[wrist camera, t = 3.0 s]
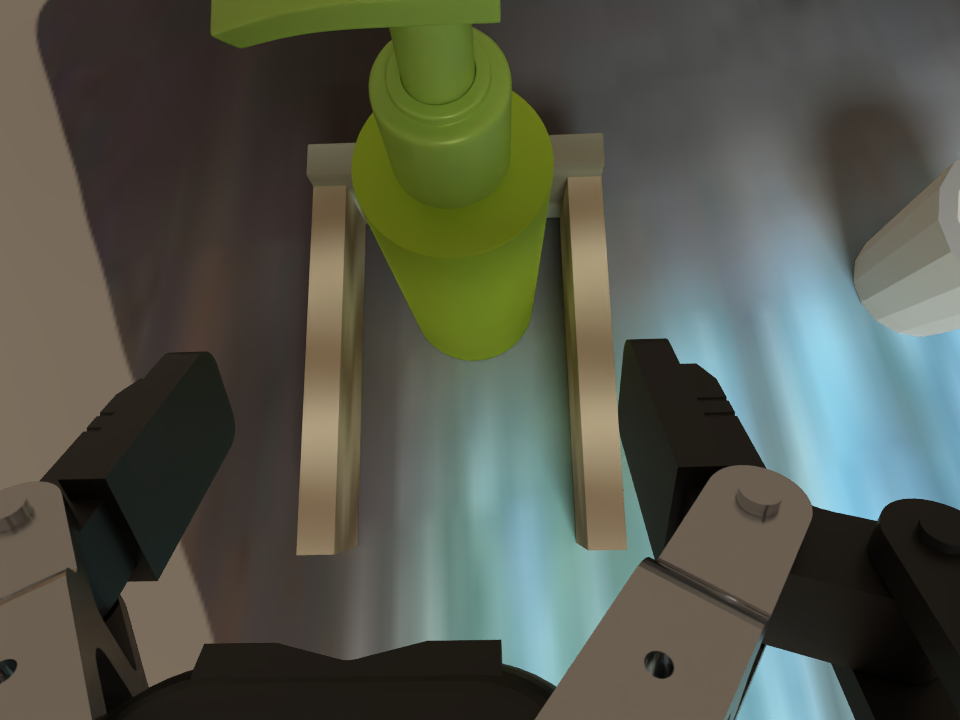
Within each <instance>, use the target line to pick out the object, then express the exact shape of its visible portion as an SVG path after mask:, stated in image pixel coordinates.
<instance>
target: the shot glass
mask: <svg viewBox="0 0 960 720" xmlns="http://www.w3.org/2000/svg"><path fill="white" fill-rule="evenodd" d="M853 282H854V285H855V288H856V291H857V294H858V296H859V299H860V302H861V304H862V305H863V306H864V307H865V308H866V309H867V311H868V312H869V313H870V314H871V315H872V316H873V318H874V319H875V320H876V321H878V322H879V323H881V324H883V325H885V326H886V327H888V328H890V329H892V330H893V331H895V332H897V333H901V334H907V335H913V336H918V337H924V336H929V335H934V334H939V333H944V332H948V331H952V330H956V329H960V158H959V159H958V160H956V161H955V162H954V163H953V164H952V165H951V166H949V167H948V168H947V169H946V170H945V171H944V172H943V173H942V174H941V175H940V176H939V177H937V178H936V179H935V180H934V181H933V182H932V183H931V184H930V185H929V186H928V187H927V188H925V189H924V190H923V191H922V192H921V193H920V194H919V195H918V196H917V197H916V198H915V199H913V200H912V201H911V202H910V203H909V204H908V205H907V206H906V207H905V208H904V209H903V210H901V211H900V212H899V213H898V214H897V215H896V216H895V217H894V218H893V219H892V220H890V221H889V222H888V223H887V224H886V225H885V226H884V227H883V228H882V229H881V230H880V231H878V232H877V233H876V234H875V235H874V236H873V237H872V238H871V239H870V240H869V241H868V242H866V243H865V245H864V247H863V248H862V250H861V252H860V253H859V255H858V257H857V258H856V260H855V267H854V280H853Z"/></svg>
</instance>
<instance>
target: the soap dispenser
mask: <svg viewBox="0 0 960 720" xmlns="http://www.w3.org/2000/svg"><path fill="white" fill-rule="evenodd" d="M499 22H500V0H211V30H210V31H211V35H212V36H213V37H215V38H217V39H219V40H221V41H223V42H225V43H228V44H230V45H233V46H235V47H237V48H245V47H250V46H254V45H257V44H261V43H265V42H269V41H272V40H277V39H281V38H286V37H291V36H296V35H302V34H309V33H316V32H325V31H335V30H347V29H364V28H386V27H389V30H390V34H391V38H392V40H391V41H390V42H389V43H388V44H387V45H386V46H385V47H384V48H383V49H382V50H381V52H380V53H379V55H378V56H377V58H376V60H375V62H374V64H373V66H372V69H371V72H370V77H369V98H370V103H371V106H372V110H373V113H372V114H371V116H370V117H369V118H368V120H367V121H366V123H365V124H364V126H363V128H362V130H361V131H360V134H359V136H358V138H357V141H356V144H355V147H354V152H353V157H352V182H353V188H354V192H355V195H356V198H357V201H358V203H359V205H360V208H361V210H362V212H363V214H364V216H365V218H366V220H367V222H368V224H369V226H370V228H371V230H372V232H373V234H374V236H375V238H376V240H377V242H378V244H379V246H380V248H381V250H382V252H383V254H384V256H385V258H386V260H387V262H388V264H389V266H390V268H391V270H392V272H393V274H394V276H395V278H396V280H397V283H398V285H399V287H400V289H401V291H402V293H403V295H404V297H405V299H406V301H407V303H408V305H409V307H410V309H411V311H412V313H413V315H414V317H415V319H416V321H417V323H418V325H419V327H420V329H421V331H422V333H423V334H424V336H425V337H426V338H427V340H428V341H429V342H430V343H431V344H432V345H433V346H434V347H435V348H437V349H438V350H439V351H441V352H443V353H444V354H446V355H448V356H451V357H454V358H457V359H461V360H469V361H477V360H485V359H489V358H492V357H495V356H498V355H500V354H502V353H504V352H505V351H507V350H508V349H510V348H511V347H512V346H513V345H515V344H516V343H517V342H518V340H519V339H520V338H521V337H522V335H523V334H524V332H525V331H526V329H527V327H528V325H529V322H530V319H531V315H532V310H533V303H534V297H535V290H536V284H537V277H538V271H539V264H540V258H541V251H542V245H543V238H544V232H545V225H546V219H547V212H548V206H549V199H550V193H551V186H552V180H553V172H554V157H553V149H552V144H551V141H550V137H549V135H548V132H547V130H546V128H545V126H544V124H543V122H542V120H541V119H540V117H539V116H538V114H537V113H536V112H535V110H534V109H533V108H532V107H531V106H530V105H529V104H528V103H527V102H526V101H525V100H524V99H523V98H522V97H520V96H519V95H518V94H516V93H515V92H513V91H512V79H511V73H510V69H509V65H508V62H507V60H506V57H505V55H504V54H503V52H502V50H501V49H500V48H499V46H498V45H497V44H496V43H495V42H494V41H493V40H492V39H491V38H490V37H489V36H487V35H486V34H484V33H483V32H481V31H479V30H478V29H476V28H473V27H472V24H475V23H499Z"/></svg>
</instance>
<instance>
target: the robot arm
mask: <svg viewBox="0 0 960 720" xmlns="http://www.w3.org/2000/svg"><path fill="white" fill-rule="evenodd" d="M618 423H619V432H620V437H621V441H622V444H623V448H624V451H625V455H626V459H627V462H628V466H629V469H630V473H631V476H632V480H633V483H634V487H635V491H636V494H637V498H638V501H639V505H640V508H641V512H642V516H643V519H644V523H645V526H646V530H647V533H648V537H649V540H650V544H651V548H652V551H653V555H654V558H655V560H654V559H652V558H650V557H647V558H645V559H644V560H643V561H642V562H641V563H640V564H639V565H638V567H637V568H636V569H635V571H634V572H633V574H632V575H631V577H630V578H629V580H628V581H627V583H626V584H625V586H624V587H623V589H622V590H621V592H620V593H619V595H618V596H617V598H616V599H615V601H614V602H613V604H612V605H611V607H610V608H609V610H608V611H607V613H606V614H605V616H604V617H603V619H602V620H601V622H600V623H599V624H598V626H597V627H596V629H595V630H594V632H593V633H592V635H591V636H590V638H589V639H588V641H587V642H586V644H585V645H584V647H583V648H582V650H581V651H580V653H579V654H578V656H577V657H576V659H575V660H574V662H573V663H572V665H571V666H570V668H569V669H568V671H567V672H566V674H565V675H564V677H563V678H562V680H561V681H560V683H559V684H558V686H557V687H556V686H554V685H553V684H551V683H550V682H548V681H546V680H544V679H542V678H541V677H539V676H537V675H535V674H532V673H530V672H527V671H525V670H522V669H520V668H517V667H513V666H509V665H506V664H502V646H501V640H456V641H425V642H421V643H417V644H413V645H409V646H405V647H402V648H398V649H394V650H390V651H386V652H382V653H378V654H374V655H370V656H367V657H363V658H359V659H354V660H340V659H336V658H332V657H329V656H325V655H321V654H317V653H313V652H309V651H306V650H302V649H298V648H294V647H290V646H286V645H283V644H279V643H229V644H204V646H203V648H202V651H201V653H200V656H199V658H198V660H197V662H196V665H195V667H194V669H193V670H191V671H187V672H184V673H182V674H179V675H177V676H174V677H171V678H168V679H166V680H164V681H162V682H160V683H158V684H156V685H154V686H152V687H148V683H147V680H146V677H145V673H144V669H143V666H142V662H141V658H140V654H139V651H138V647H137V644H136V640H135V636H134V633H133V629H132V625H131V621H130V618H129V614H128V611H127V607H126V605H125V602H124V600H123V598H122V597H121V595H120V593H121V592H122V590H123V588H124V587H125V585H126V583H127V582H129V581H158V579H159V578H160V576H161V574H162V572H163V570H164V568H165V566H166V565H167V563H168V561H169V559H170V557H171V556H172V554H173V552H174V550H175V548H176V546H177V545H178V543H179V541H180V539H181V537H182V536H183V534H184V532H185V530H186V528H187V526H188V525H189V523H190V521H191V519H192V517H193V515H194V514H195V512H196V510H197V508H198V506H199V504H200V503H201V501H202V499H203V497H204V495H205V493H206V492H207V490H208V488H209V486H210V484H211V482H212V481H213V479H214V477H215V475H216V473H217V472H218V470H219V468H220V466H221V464H222V462H223V461H224V459H225V457H226V455H227V453H228V451H229V450H230V448H231V446H232V443H233V440H234V434H235V420H234V415H233V412H232V408H231V405H230V402H229V399H228V396H227V393H226V390H225V387H224V384H223V381H222V378H221V375H220V372H219V369H218V366H217V363H216V361H215V359H214V357H213V356H212V354H210V353H209V352H176V353H167V354H165V355H164V356H163V357H162V358H161V359H160V360H159V361H158V362H157V364H156V365H155V366H154V367H153V368H152V370H151V371H150V372H149V373H148V374H147V375H146V377H145V378H144V379H139V380H138V381H136V382H135V383H133V384H132V385H130V386H129V387H127V388H126V389H124V390H122V391H121V392H120V393H118V394H116V395H115V397H114V398H113V399H112V400H111V401H110V402H109V403H108V404H107V406H106V407H105V408H104V409H103V410H102V411H101V412H100V416H98V417H96V418H95V419H94V420H93V421H92V422H91V424H90V425H89V426H88V427H87V432H83V433H82V434H81V435H80V436H79V437H78V438H77V439H76V440H75V442H74V443H73V444H72V445H71V446H70V447H69V449H67V451H66V452H65V453H64V454H63V455H62V456H61V457H60V459H59V460H58V461H57V462H56V463H55V464H54V465H53V466H52V468H51V469H50V470H49V471H48V472H47V473H46V474H45V475H44V477H43V478H42V479H41V480H40V481H39V482H28V483H23V484H19V485H15V486H12V487H9V488H6V489H4V490H1V491H0V720H736V718H737V716H738V714H739V711H740V709H741V706H742V704H743V701H744V699H745V697H746V694H747V692H748V689H749V687H750V684H751V682H752V679H753V677H754V675H755V672H756V670H757V667H758V665H759V662H760V660H761V658H762V655H763V653H764V650H765V648H766V645H769V646H773V647H776V648H780V649H783V650H787V651H790V652H794V653H797V654H801V655H804V656H808V657H812V658H815V659H819V660H822V661H826V662H829V663H831V664H832V666H833V669H834V671H835V673H836V676H837V678H838V680H839V683H840V685H841V687H842V690H843V692H844V694H845V697H846V699H847V701H848V704H849V706H850V708H851V711H852V713H853V715H854V718H855V720H960V510H957V509H955V508H953V507H950V506H948V505H945V504H942V503H938V502H934V501H929V500H924V499H902V500H897V501H894V502H892V503H890V504H888V505H887V506H885V508H884V509H883V510H882V512H881V514H880V516H879V519H878V521H874V520H869V519H865V518H860V517H855V516H850V515H846V514H841V513H836V512H832V511H828V510H824V509H820V508H818V507H815V506H812V505H811V502H810V500H809V499H808V497H807V495H806V494H805V493H804V492H803V490H802V489H801V488H800V487H799V486H798V485H796V484H795V483H794V482H792V481H791V480H790V479H788V478H786V477H785V476H783V475H781V474H779V473H776V472H774V471H772V470H768V469H766V467H765V465H764V463H763V462H762V460H761V458H760V456H759V455H758V453H757V451H756V449H755V447H754V446H753V444H752V442H751V440H750V438H749V437H748V435H747V433H746V431H745V429H744V428H743V426H742V424H741V422H740V420H739V419H738V417H737V416H735V411H734V410H733V408H732V406H731V404H730V402H729V401H727V400H726V395H725V394H724V392H723V390H722V388H721V386H720V385H719V383H718V381H717V379H716V378H715V377H713V376H712V375H711V374H709V373H708V372H707V371H705V370H704V369H703V368H702V367H700V366H699V365H698V364H680V363H679V361H678V359H677V357H676V355H675V353H674V351H673V348H672V346H671V344H670V342H669V341H668V339H666V338H664V339H632V340H627V341H626V342H625V346H624V352H623V362H622V372H621V383H620V393H619V403H618Z"/></svg>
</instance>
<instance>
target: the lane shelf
mask: <svg viewBox="0 0 960 720" xmlns="http://www.w3.org/2000/svg"><path fill="white" fill-rule="evenodd" d="M549 137H550V141H551V144H552V149H553V157H554V172H553V180H552V186H551V193H550V199H549V206H548V212H547V218H559V217H560V235H561V254H562V274H563V293H564V312H565V332H566V351H567V370H568V390H569V409H570V428H571V448H572V467H573V486H574V506H575V525H576V543H578V544H579V545H581V546H582V547H584V548H586V549H587V550H627V540H626V526H625V511H624V497H623V482H622V468H621V454H620V439H619V425H618V410H617V396H616V381H615V367H614V353H613V338H612V324H611V309H610V295H609V280H608V266H607V251H606V237H605V223H604V208H603V194H602V179H601V175H602V172H603V169H604V165H605V158H604V144H603V133H592V134H566V135H549ZM355 144H356V143H335V144H309V145H308V156H307V177H308V178H309V180H310V182H311V183H312V185H313V209H312V230H311V252H310V274H309V295H308V317H307V339H306V360H305V382H304V403H303V425H302V447H301V468H300V490H299V512H298V533H297V555H329V554H337V553H340V552H343V551H346V550H349V549H352V548H355V547H358V519H359V479H360V438H361V398H362V358H363V318H364V278H365V237H366V224H368V222H367V220H366V218H365V216H364V214H363V212H362V210H361V208H360V205H359V203H358V201H357V198H356V195H355V192H354V188H353V182H352V157H353V152H354V147H355Z"/></svg>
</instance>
